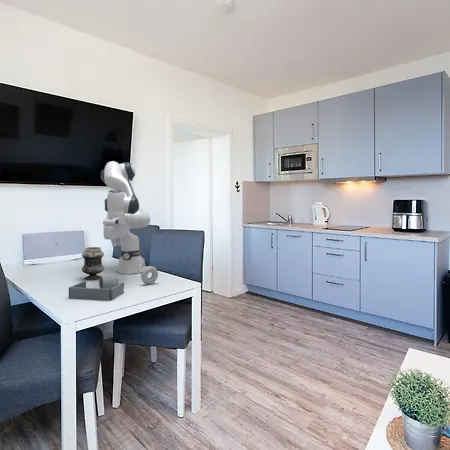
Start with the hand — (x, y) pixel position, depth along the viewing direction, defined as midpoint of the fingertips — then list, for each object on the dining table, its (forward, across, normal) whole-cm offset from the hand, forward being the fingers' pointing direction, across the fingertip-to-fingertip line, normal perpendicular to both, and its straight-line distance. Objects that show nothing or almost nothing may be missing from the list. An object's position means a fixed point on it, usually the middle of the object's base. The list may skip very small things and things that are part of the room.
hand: (116, 246), depth 175 cm
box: (+21, +20, 0) cm, 29 cm away
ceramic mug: (+21, +10, 0) cm, 23 cm away
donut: (+21, -4, +17) cm, 28 cm away
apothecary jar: (+21, -11, -20) cm, 31 cm away
